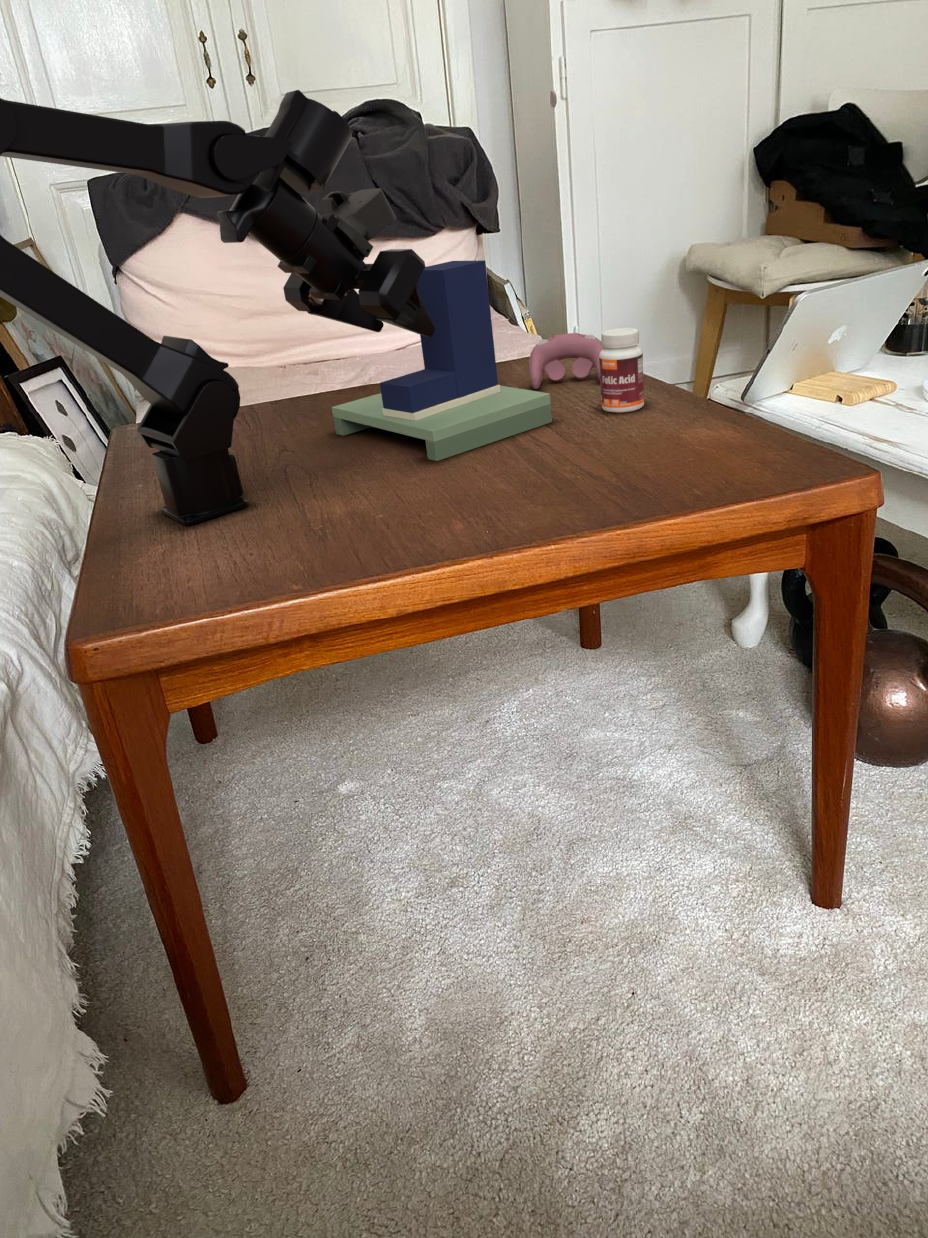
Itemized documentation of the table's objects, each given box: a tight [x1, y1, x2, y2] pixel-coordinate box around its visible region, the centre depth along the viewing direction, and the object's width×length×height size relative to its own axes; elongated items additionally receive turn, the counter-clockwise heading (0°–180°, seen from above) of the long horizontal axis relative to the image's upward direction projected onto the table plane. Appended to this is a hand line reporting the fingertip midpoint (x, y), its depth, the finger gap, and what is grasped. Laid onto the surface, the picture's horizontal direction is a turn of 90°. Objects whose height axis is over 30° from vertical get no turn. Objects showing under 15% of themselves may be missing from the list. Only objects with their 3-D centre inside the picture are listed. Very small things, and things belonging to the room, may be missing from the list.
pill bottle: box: [599, 327, 645, 414], centre depth 105 cm, size 5×5×8 cm
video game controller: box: [528, 332, 604, 390], centre depth 120 cm, size 10×5×7 cm, turn 84°
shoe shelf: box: [331, 385, 553, 462], centre depth 107 cm, size 16×20×3 cm
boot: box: [379, 260, 501, 421], centre depth 102 cm, size 13×6×14 cm, turn 133°
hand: (406, 330), depth 100 cm, fingers open, 9 cm apart
